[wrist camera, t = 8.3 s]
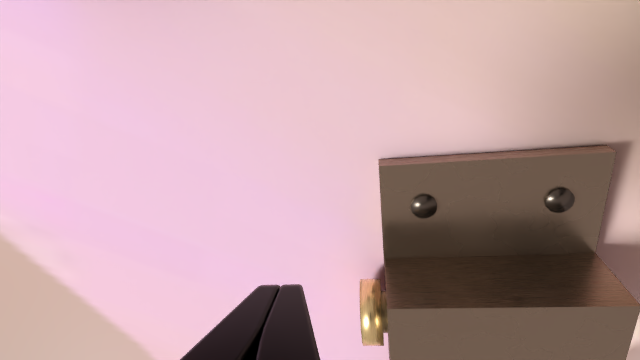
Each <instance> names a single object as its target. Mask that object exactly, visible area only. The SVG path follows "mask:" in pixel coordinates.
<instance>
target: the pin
mask: <svg viewBox="0 0 640 360" xmlns="http://www.w3.org/2000/svg"><path fill="white" fill-rule="evenodd" d="M360 319H361V334H362V343H363V346H384V340H383V333H388V316H387V299H386V291H381V285H380V279H360Z"/></svg>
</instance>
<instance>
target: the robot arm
mask: <svg viewBox="0 0 640 360" xmlns="http://www.w3.org/2000/svg"><path fill="white" fill-rule="evenodd" d="M180 360H320V357H319V353H318V349H317V345H316V341H315V337H314V332H313V328H312V324H311V320H310V316H309V312H308V308H307V304H306V300H305V295H304V291H303V288H302V286H301V285H299V284H291V285H282V286H281V287H280V286H279V285H261V286H259V287H257V288H256V289H255V290H254V291H253V292H252V293H251V294H250V295H249V296H248V297H247V298H245V299H244V300H243V301H242V302H241V303H240V304H239V305H238V306H237V307H236V308H235V309H234V310H233V311H232V312H231V313H229V314H228V315H227V316H226V317H225V318H224V319H223V320H222V321H221V322H220V323H219V324H218V325H217V326H216V327H214V328H213V329H212V330H211V331H210V332H209V333H208V334H207V335H206V336H205V337H204V338H203V339H202V340H201V341H199V342H198V343H197V344H196V345H195V346H194V347H193V348H192V349H191V350H190V351H189V352H188V353H187V354H186V355H185V356H183V357H182V358H181V359H180Z"/></svg>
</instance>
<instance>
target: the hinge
mask: <svg viewBox="0 0 640 360" xmlns="http://www.w3.org/2000/svg"><path fill="white" fill-rule="evenodd" d="M615 156H616V151H614V150H613V149H611V148H610V147H608V146H607V145H602V146H587V147H571V148H555V149H539V150H523V151H507V152H491V153H475V154H459V155H443V156H427V157H411V158H395V159H379V177H380V195H381V214H382V232H383V250H384V268H385V287H386V299H387V316H388V342H389V360H626V357H627V354H628V350H629V347H630V343H631V340H632V336H633V333H634V329H635V326H636V322H637V319H638V315H639V312H640V304H639V303H638V302H637V301H636V300H635V299H634V298H633V296H632V295H631V294H630V293H629V292H628V291H627V289H626V288H625V287H624V286H623V285H622V284H621V282H620V281H619V280H618V279H617V278H616V277H615V275H614V274H613V273H612V272H611V271H610V270H609V268H608V267H607V266H606V265H605V264H604V263H603V261H602V260H601V259H600V258H599V257H598V256H597V254H596V253H595V252H596V247H597V242H598V237H599V233H600V228H601V223H602V218H603V214H604V209H605V204H606V199H607V194H608V190H609V185H610V180H611V175H612V171H613V166H614V161H615Z"/></svg>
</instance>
